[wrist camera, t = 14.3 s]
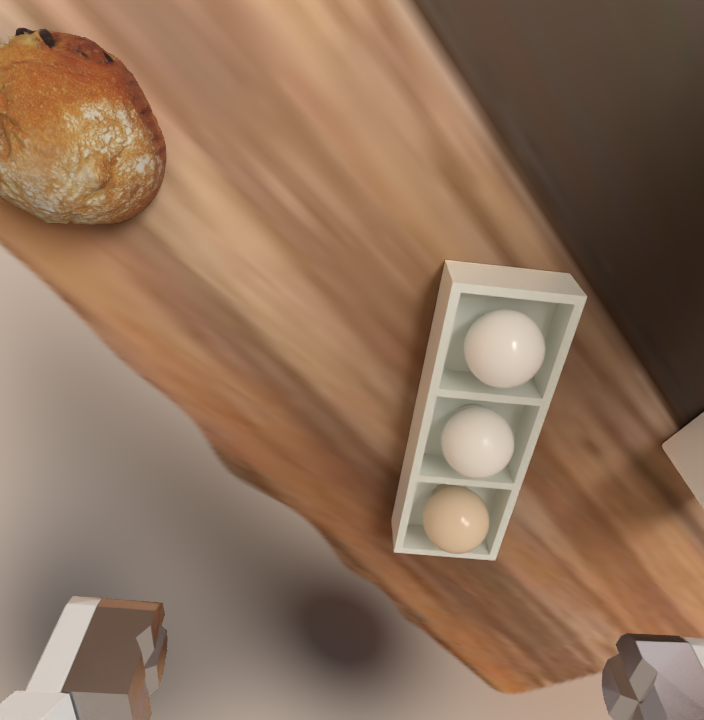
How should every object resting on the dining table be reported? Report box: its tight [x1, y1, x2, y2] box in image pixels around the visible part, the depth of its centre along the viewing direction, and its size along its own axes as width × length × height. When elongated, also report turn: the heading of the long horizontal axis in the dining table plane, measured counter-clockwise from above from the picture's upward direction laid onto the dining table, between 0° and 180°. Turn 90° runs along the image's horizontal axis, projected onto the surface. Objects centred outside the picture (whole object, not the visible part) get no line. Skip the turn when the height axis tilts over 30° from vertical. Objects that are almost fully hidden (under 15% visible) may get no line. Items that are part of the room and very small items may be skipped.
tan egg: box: [423, 484, 489, 554], centre depth 46 cm, size 5×5×5 cm
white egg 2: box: [441, 404, 514, 479], centre depth 42 cm, size 5×5×5 cm
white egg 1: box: [464, 309, 545, 388], centre depth 38 cm, size 5×5×5 cm
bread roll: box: [0, 28, 166, 225], centre depth 33 cm, size 10×10×8 cm
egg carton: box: [391, 260, 587, 560], centre depth 44 cm, size 8×23×4 cm, turn 174°
